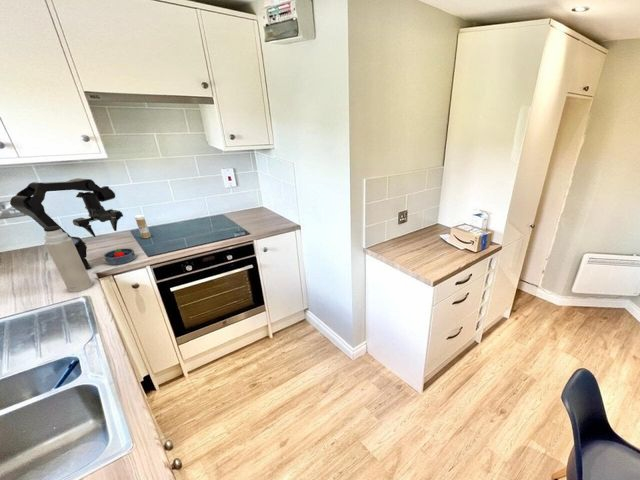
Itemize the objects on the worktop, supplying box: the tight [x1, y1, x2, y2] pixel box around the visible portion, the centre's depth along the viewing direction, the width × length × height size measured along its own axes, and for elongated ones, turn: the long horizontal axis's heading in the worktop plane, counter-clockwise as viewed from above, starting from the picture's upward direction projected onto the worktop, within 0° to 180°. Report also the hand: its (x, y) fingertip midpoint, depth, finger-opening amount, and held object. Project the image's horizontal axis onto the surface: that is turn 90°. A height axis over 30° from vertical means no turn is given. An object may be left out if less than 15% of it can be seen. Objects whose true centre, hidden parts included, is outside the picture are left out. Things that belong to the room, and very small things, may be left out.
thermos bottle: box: [43, 225, 93, 293], centre depth 135 cm, size 8×8×28 cm
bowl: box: [102, 247, 137, 266], centre depth 165 cm, size 12×12×4 cm
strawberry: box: [114, 248, 125, 258], centre depth 164 cm, size 4×4×6 cm
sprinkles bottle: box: [134, 214, 152, 239], centre depth 190 cm, size 5×5×14 cm
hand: (105, 233), depth 165 cm, fingers open, 9 cm apart
